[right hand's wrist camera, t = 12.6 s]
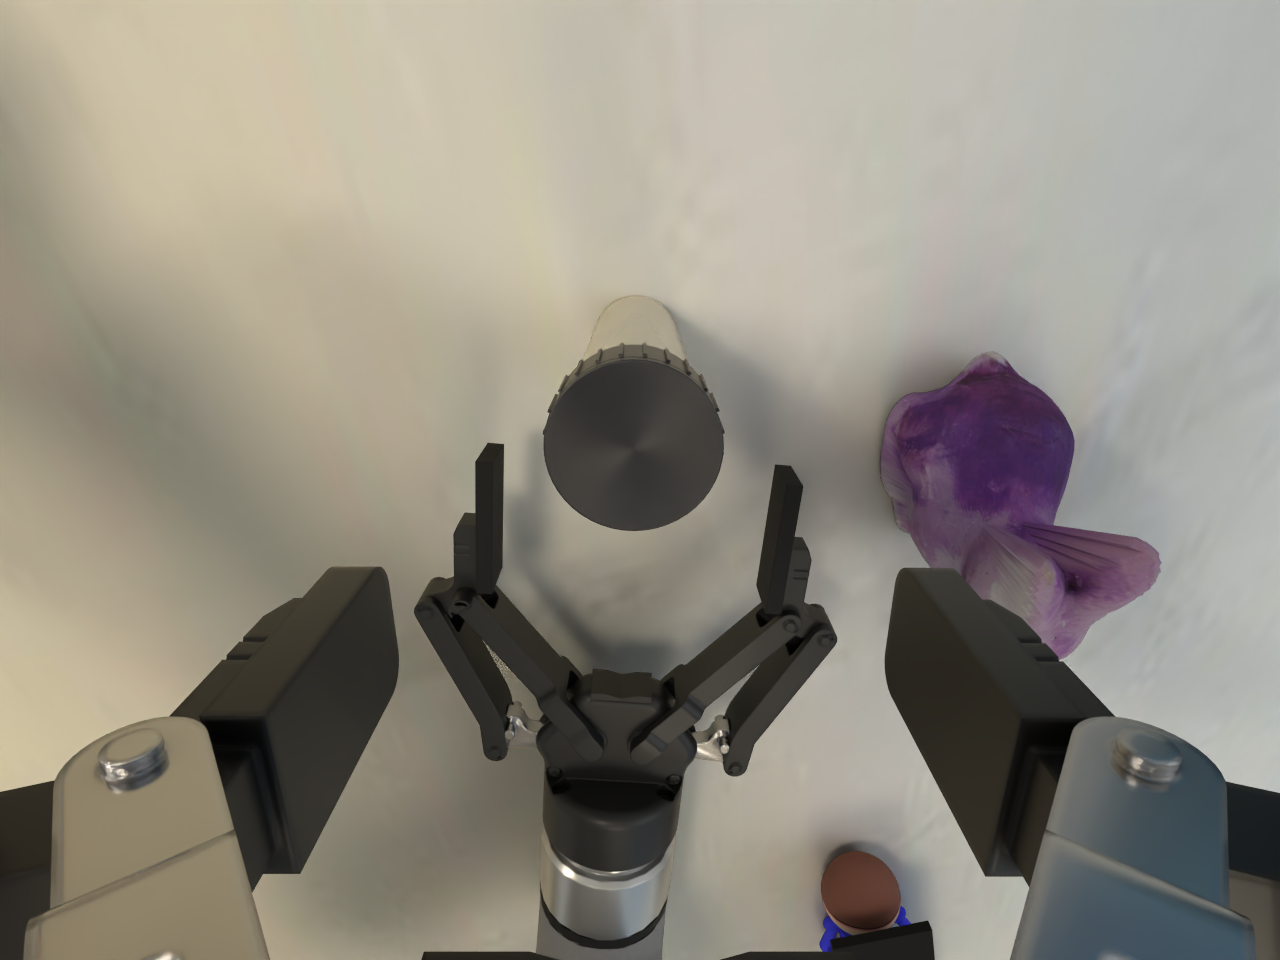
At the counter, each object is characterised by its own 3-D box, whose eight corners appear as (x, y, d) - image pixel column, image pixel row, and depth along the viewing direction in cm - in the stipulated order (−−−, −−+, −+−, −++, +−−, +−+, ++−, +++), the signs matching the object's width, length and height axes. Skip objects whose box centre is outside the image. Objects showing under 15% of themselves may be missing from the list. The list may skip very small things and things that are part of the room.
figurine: (928, 575, 41) (1078, 762, 27) (827, 447, 38) (936, 581, 24) (1075, 477, 39) (1320, 625, 25) (980, 333, 36) (1194, 409, 22)
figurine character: (911, 953, 54) (896, 826, 47) (952, 1072, 47) (942, 944, 41) (823, 968, 55) (796, 844, 48) (852, 1087, 48) (826, 963, 41)
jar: (693, 322, 36) (740, 416, 19) (651, 394, 38) (661, 539, 21) (620, 279, 36) (602, 338, 19) (579, 353, 37) (530, 471, 20)
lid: (749, 394, 21) (762, 415, 19) (663, 528, 23) (666, 562, 21) (600, 309, 20) (596, 321, 18) (523, 454, 22) (509, 481, 20)
